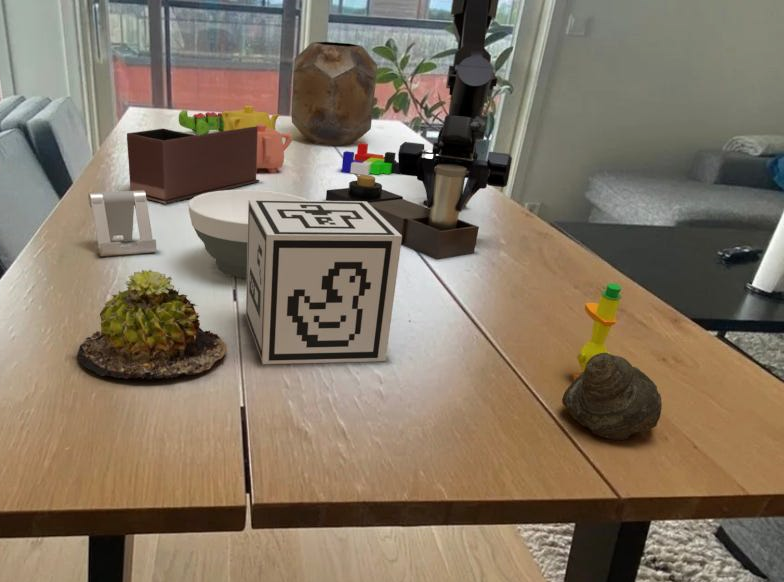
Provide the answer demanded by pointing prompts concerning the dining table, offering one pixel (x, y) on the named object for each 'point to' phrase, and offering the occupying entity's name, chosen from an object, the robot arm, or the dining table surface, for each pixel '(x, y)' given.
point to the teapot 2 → (271, 148)
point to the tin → (446, 196)
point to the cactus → (150, 333)
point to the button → (366, 180)
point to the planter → (333, 93)
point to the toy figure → (600, 323)
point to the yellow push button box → (361, 193)
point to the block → (320, 280)
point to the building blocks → (369, 162)
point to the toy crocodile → (202, 122)
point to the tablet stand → (121, 221)
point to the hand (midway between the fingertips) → (444, 208)
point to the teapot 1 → (247, 119)
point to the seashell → (613, 398)
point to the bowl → (228, 225)
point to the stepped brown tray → (426, 230)
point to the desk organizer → (190, 162)
